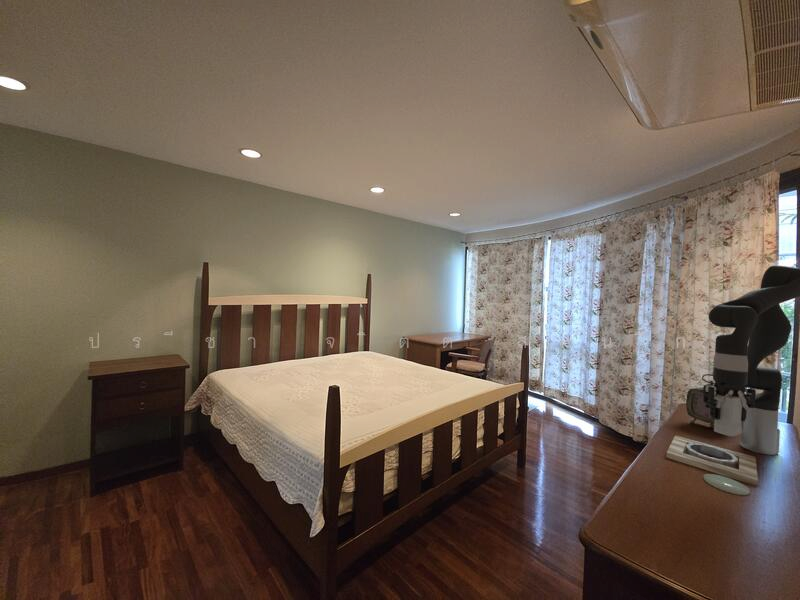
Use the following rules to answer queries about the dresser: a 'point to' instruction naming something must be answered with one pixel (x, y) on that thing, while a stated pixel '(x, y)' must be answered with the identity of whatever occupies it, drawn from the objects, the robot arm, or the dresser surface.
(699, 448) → the segmented octagonal ring
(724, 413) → the skincare box
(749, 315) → the robot arm
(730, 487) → the coaster
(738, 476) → the striped wooden board
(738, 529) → the dresser surface
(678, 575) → the dresser surface
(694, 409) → the tabletop clock
